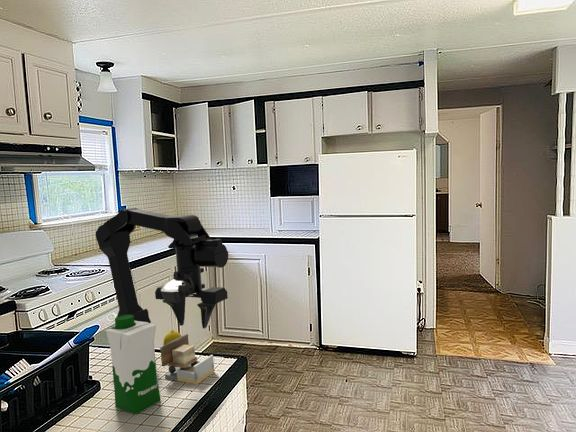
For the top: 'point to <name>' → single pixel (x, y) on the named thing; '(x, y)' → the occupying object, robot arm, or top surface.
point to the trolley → (178, 354)
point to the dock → (194, 371)
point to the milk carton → (133, 364)
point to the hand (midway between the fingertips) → (193, 326)
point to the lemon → (171, 337)
